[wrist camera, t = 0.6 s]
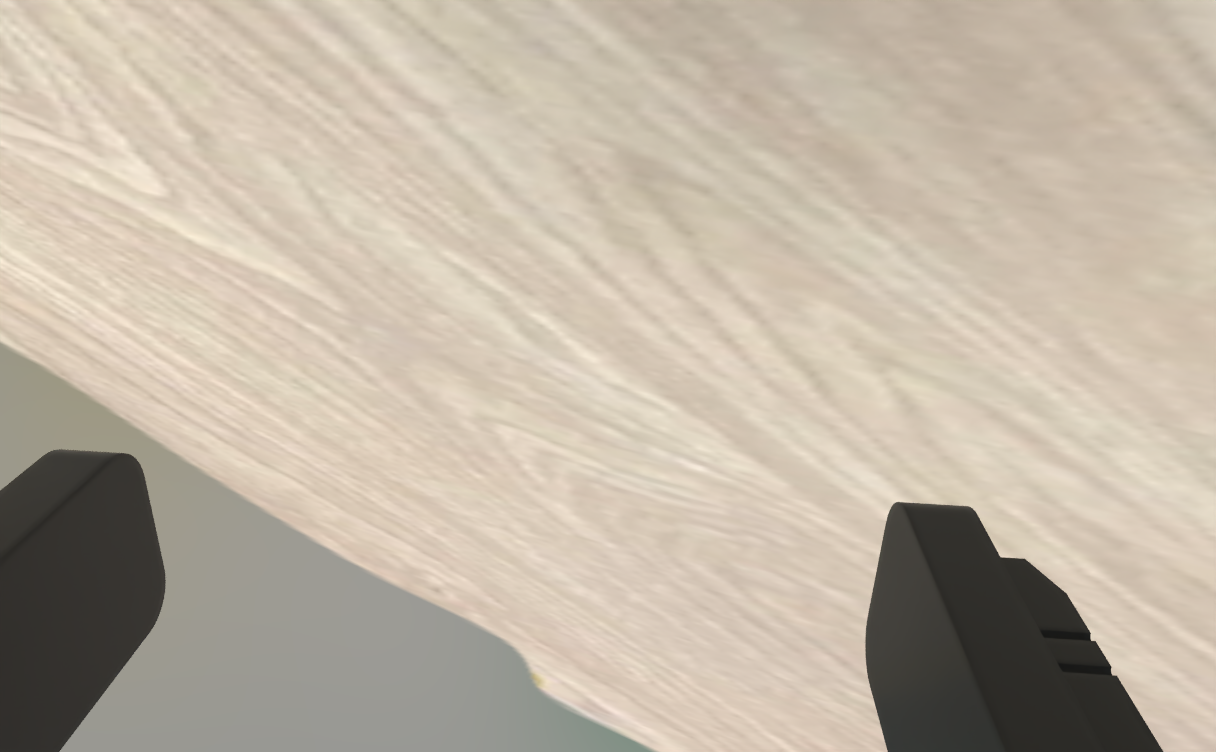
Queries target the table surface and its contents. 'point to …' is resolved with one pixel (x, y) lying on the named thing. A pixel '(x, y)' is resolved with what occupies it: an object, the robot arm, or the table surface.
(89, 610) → the robot arm
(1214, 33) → the table surface
